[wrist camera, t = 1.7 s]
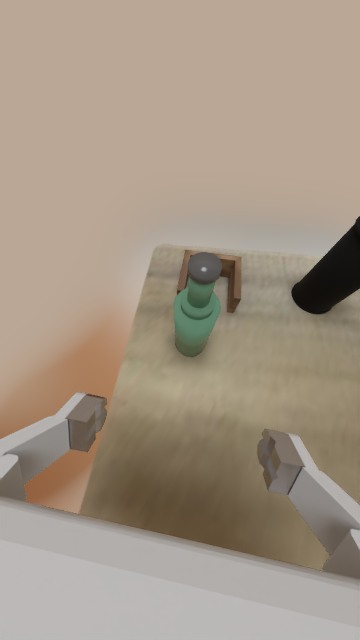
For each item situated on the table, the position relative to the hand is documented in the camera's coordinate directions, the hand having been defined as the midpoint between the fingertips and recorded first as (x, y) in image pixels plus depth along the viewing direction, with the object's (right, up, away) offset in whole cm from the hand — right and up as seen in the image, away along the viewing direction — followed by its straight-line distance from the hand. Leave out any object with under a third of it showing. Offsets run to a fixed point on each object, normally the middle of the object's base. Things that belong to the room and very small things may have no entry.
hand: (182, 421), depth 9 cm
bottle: (+2, +1, +24) cm, 24 cm away
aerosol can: (+28, +10, +29) cm, 41 cm away
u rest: (+6, +12, +29) cm, 32 cm away
